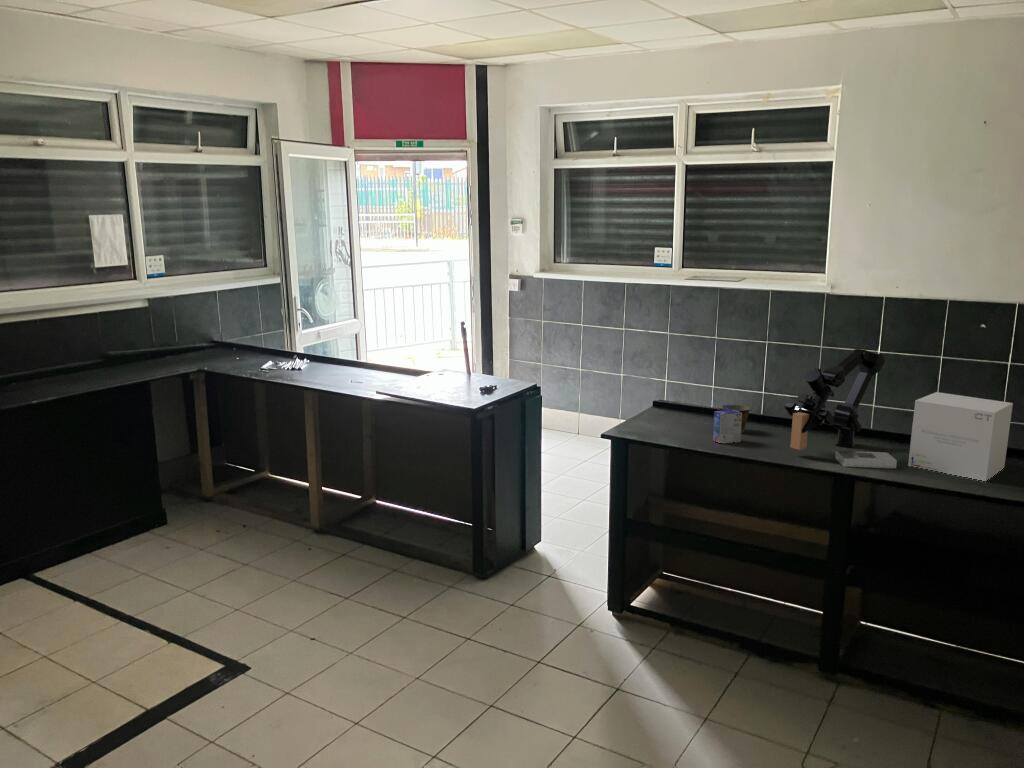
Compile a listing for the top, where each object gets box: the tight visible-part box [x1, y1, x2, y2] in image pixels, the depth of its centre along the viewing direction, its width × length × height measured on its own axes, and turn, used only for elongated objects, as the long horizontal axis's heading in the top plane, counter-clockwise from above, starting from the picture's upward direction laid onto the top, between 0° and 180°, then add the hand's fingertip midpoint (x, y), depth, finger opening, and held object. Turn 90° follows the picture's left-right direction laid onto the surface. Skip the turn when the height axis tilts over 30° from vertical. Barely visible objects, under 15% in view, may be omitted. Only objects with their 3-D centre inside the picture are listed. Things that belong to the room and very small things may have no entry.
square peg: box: [790, 412, 809, 451], centre depth 296 cm, size 4×4×13 cm
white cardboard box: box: [907, 391, 1014, 482], centre depth 283 cm, size 25×21×24 cm
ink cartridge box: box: [712, 404, 742, 444], centre depth 316 cm, size 10×6×14 cm, turn 106°
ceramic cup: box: [716, 404, 750, 433], centre depth 333 cm, size 13×10×10 cm
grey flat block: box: [835, 450, 898, 470], centre depth 289 cm, size 10×18×3 cm, turn 84°
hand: (797, 431), depth 295 cm, fingers closed on square peg, 4 cm apart
